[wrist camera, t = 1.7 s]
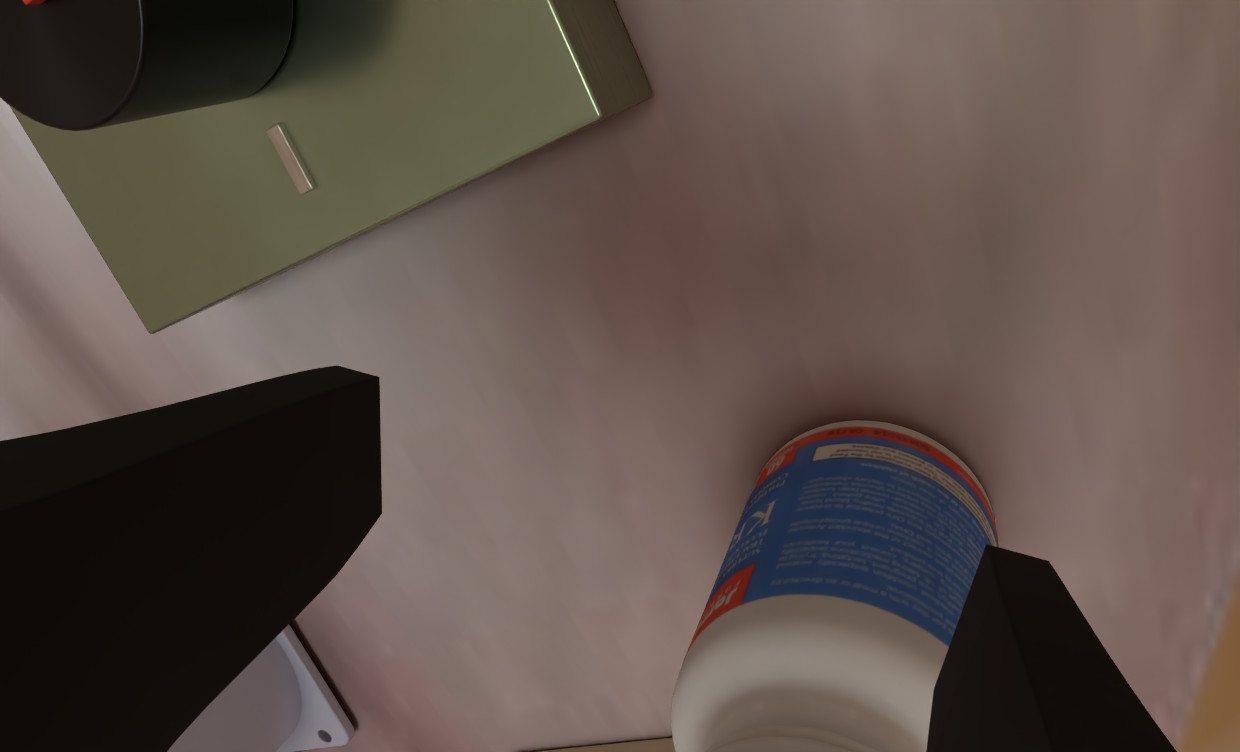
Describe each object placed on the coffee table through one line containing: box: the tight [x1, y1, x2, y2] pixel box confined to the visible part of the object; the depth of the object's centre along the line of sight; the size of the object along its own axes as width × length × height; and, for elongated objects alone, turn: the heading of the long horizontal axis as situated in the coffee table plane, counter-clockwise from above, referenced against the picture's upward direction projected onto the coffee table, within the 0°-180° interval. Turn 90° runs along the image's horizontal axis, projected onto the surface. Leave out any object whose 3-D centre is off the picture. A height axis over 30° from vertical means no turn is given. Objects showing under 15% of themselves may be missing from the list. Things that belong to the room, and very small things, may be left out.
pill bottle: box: [671, 420, 998, 752], centre depth 16 cm, size 6×5×10 cm
